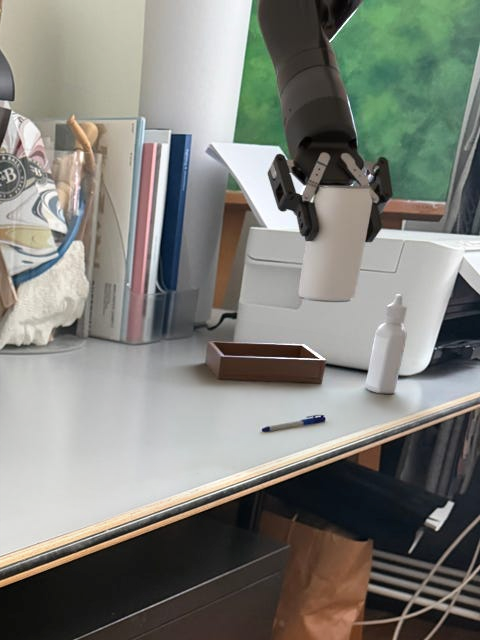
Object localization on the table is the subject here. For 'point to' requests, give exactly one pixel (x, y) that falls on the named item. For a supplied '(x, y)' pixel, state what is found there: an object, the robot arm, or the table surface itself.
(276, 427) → the ballpoint pen
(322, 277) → the can
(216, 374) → the tray
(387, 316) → the eye dropper bottle
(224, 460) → the table surface
